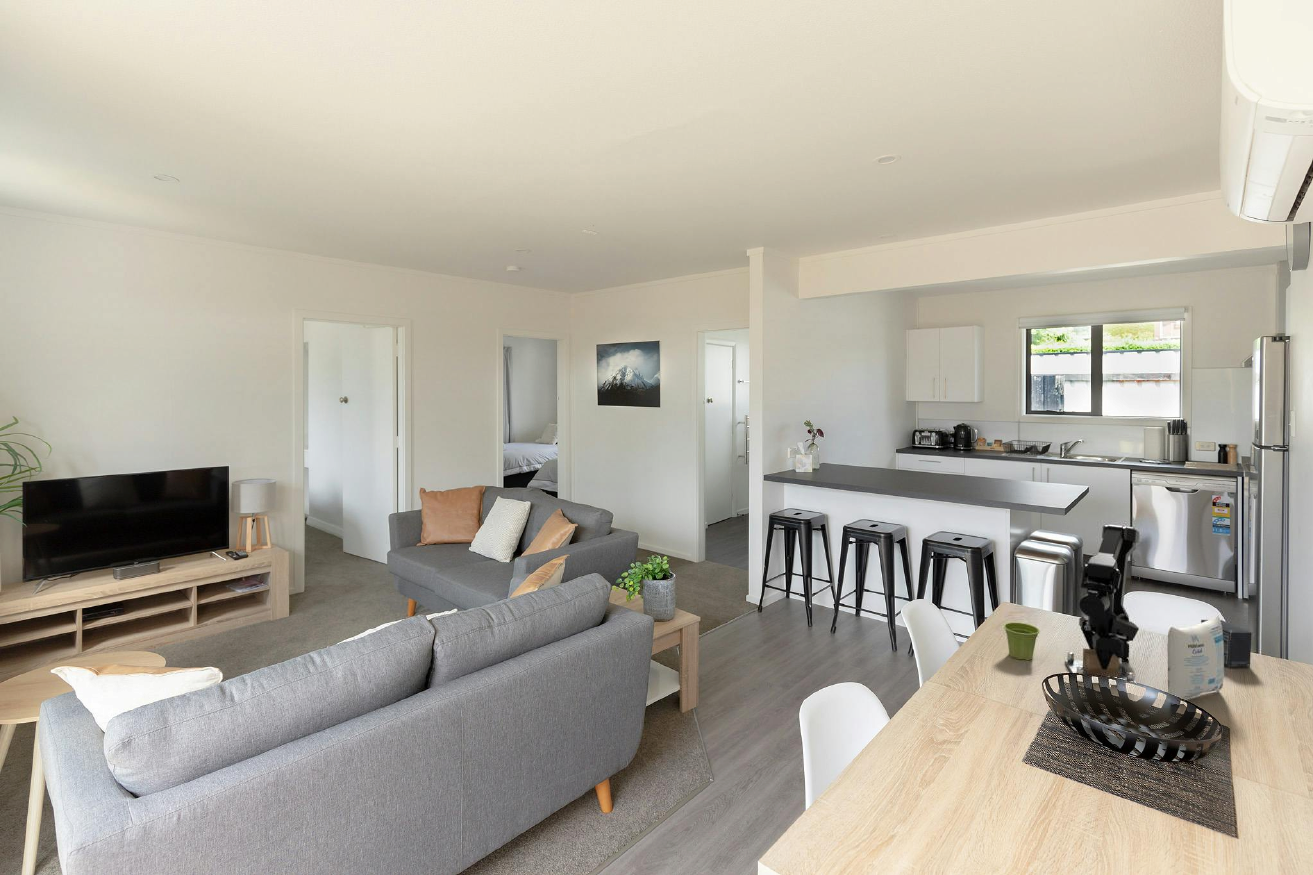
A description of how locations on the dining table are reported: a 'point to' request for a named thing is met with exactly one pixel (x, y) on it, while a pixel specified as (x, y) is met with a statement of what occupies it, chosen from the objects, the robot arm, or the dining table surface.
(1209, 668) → the pouch
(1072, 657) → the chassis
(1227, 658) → the small box
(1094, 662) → the brown block
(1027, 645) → the plant pot
